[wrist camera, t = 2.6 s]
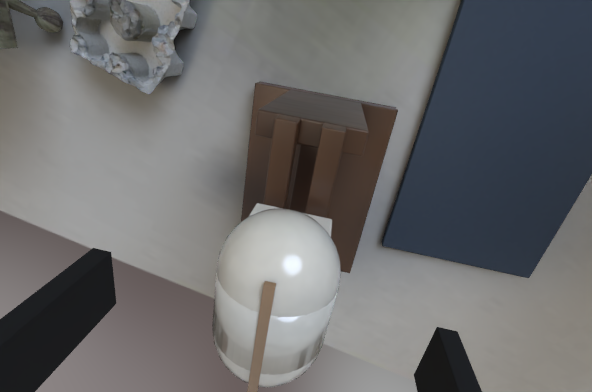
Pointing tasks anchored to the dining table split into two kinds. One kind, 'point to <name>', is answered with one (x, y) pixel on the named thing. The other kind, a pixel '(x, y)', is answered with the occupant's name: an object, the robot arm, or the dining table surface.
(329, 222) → the white dome-topped canister
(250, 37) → the dining table surface
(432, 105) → the mat
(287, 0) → the dining table surface
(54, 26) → the tabletop clock
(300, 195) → the rack
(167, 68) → the egg carton
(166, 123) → the dining table surface
